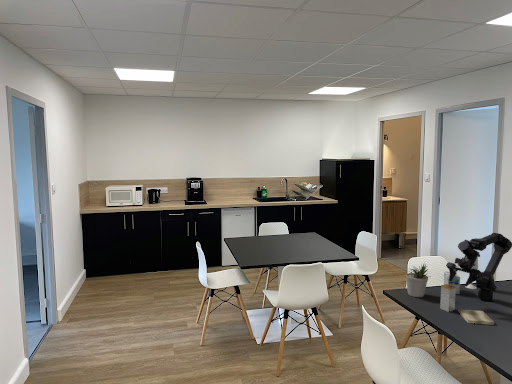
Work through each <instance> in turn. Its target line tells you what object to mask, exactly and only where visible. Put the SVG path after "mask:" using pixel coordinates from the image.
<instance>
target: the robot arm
mask: <svg viewBox="0 0 512 384" xmlns="http://www.w3.org/2000/svg"><path fill="white" fill-rule="evenodd" d="M492 244H493V249H494V251H493V253H492V255H491V257H490V259H489V261H488V263H487V266H486V267H485V270H484V271H481V270H480V269H472V267H473V266H475V264H474V263H475V261H476V259H477V257H478V258H480V257H481V254H480V252H481V251H482V252H483V251H484V250H486V249H487V247H488V246H489V245H492ZM457 248H458V250H459V251H460V252H461V253H462V254H463V255H464V257H461V258H459V257H455V260H454V262H447V263H446V265H445V266H446V268H447V269H448V270H449V271H448V272H450V277H449V281H450V282H451V281H452V280H453V278H454V277H455V275H456V274H457V272H458V271H459V272H463V273H467V274H469V275H468V278H467V279H466V282H465V284H464V286H466V287H467V286H468V285H469V284H471V283H472V284H473V283H474V282H475V287H477V289H478V291H477V298H478V299H479V300H480V301H482V302H494V299H493V296H494V292H495V291H496V290H497V286H496V284H495V278H494V275H495V273H496V271H497V270H498V267H499V265H500V263H501V261H502V258H503V257H504V255H506V254H508V253H509V252H510V250H511V249H512V241H511V239H509V238H507V237H506V236H504V235H503V234H501V233H499V232H492V233H491V234H489V235H485V236H484V237H482V238H480V237H479V238H477V237H476V238H471V239H470V240H468V239H464V240H463V241H460V242H459V243H458V244H457ZM476 250H477V251H476ZM479 251H480V252H479ZM456 264H457V265H456ZM471 269H472V270H471ZM457 275H458V274H457ZM466 287H465V288H466Z"/></svg>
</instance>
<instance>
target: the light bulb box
mask: <svg viewBox="0 0 512 384" xmlns="http://www.w3.org/2000/svg"><path fill="white" fill-rule="evenodd" d="M449 277H450V271H445V270H444V271H443V285H445V284H449V285H452V286H455V287H456V292H455V295H460V288H461V287H460V286H461V285H460V284H461V277H460V275H458V274H456V275H455V277H454V278H453V280H452V281H451V282H450V281H449Z"/></svg>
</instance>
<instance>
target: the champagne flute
mask: <svg viewBox="0 0 512 384" xmlns="http://www.w3.org/2000/svg"><path fill="white" fill-rule="evenodd" d="M476 251H477V252H478V250H476ZM474 264H475V266H473V267H472V269H477V270H479V257H477V259H476V261H475V263H474ZM472 269H471V270H472ZM464 286H465V285H464ZM465 288H466V289H471V290H477V289H478V288H477V286H476V285H474V284H473V282H472V283H471V284H469V285H468V286H467V287H466V286H465Z"/></svg>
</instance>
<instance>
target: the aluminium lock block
mask: <svg viewBox="0 0 512 384" xmlns="http://www.w3.org/2000/svg"><path fill="white" fill-rule="evenodd" d="M455 292H456V287H455V286H452V285H449V284H445V285H444V284H441V287H440V301H439V302H440V304H439V305H440V306H439V309H440V310H443V311H445V312H448V313H449V311H450V312H453V310H454V311H455V309H456V307H455V306H456V294H455Z"/></svg>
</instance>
